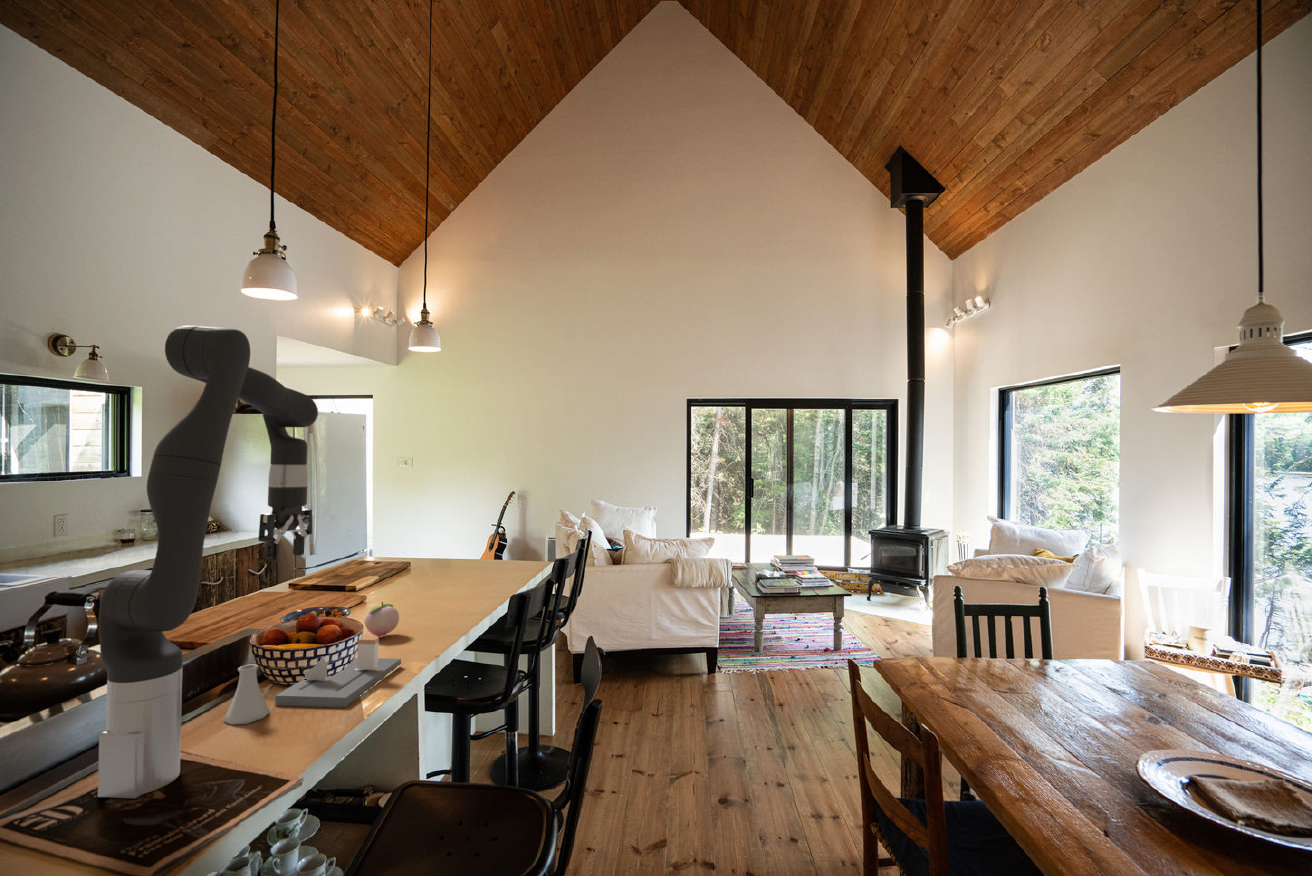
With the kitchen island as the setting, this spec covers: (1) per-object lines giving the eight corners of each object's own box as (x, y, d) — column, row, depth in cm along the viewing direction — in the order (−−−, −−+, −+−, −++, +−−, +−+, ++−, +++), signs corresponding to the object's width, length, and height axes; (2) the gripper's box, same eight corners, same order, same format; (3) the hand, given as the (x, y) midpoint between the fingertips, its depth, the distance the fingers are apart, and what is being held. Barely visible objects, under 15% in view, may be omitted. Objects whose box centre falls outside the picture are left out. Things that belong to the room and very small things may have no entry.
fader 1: (322, 680, 135) (322, 648, 135) (304, 679, 135) (305, 648, 135) (327, 676, 137) (328, 646, 137) (309, 676, 137) (310, 645, 137)
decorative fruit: (387, 643, 169) (388, 606, 169) (359, 642, 170) (360, 605, 170) (405, 633, 178) (405, 598, 179) (378, 632, 179) (379, 597, 179)
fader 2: (374, 669, 141) (374, 640, 142) (356, 669, 142) (357, 639, 142) (378, 667, 143) (378, 637, 143) (361, 666, 143) (361, 637, 144)
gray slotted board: (345, 707, 126) (345, 697, 126) (275, 705, 127) (275, 695, 127) (400, 667, 150) (401, 658, 150) (341, 665, 151) (341, 656, 151)
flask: (247, 727, 117) (248, 674, 117) (215, 724, 118) (216, 671, 119) (277, 712, 124) (278, 662, 124) (247, 709, 125) (248, 659, 126)
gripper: (282, 486, 130) (279, 563, 130) (323, 484, 144) (321, 553, 144) (248, 486, 131) (246, 563, 130) (293, 483, 145) (291, 553, 144)
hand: (285, 558), depth 137 cm, fingers open, 8 cm apart
